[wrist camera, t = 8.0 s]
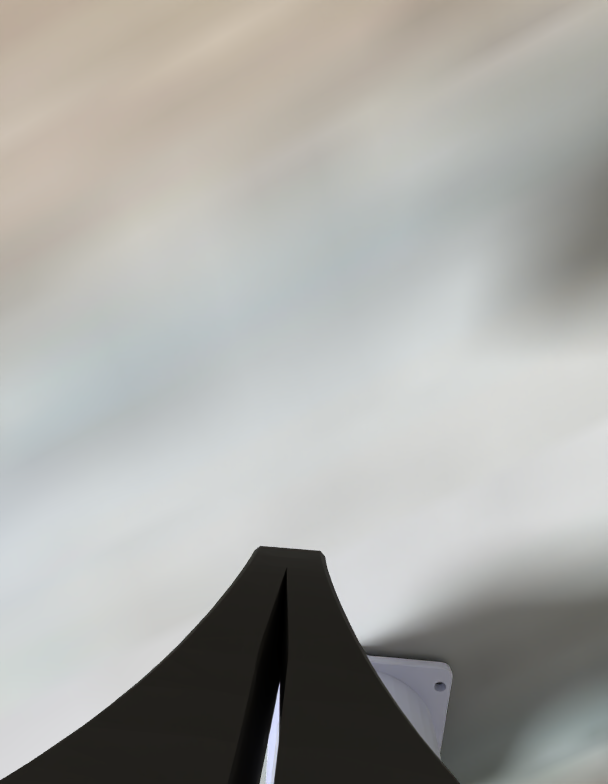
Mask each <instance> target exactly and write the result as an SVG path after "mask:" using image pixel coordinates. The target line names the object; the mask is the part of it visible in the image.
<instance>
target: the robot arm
mask: <svg viewBox="0 0 608 784" xmlns="http://www.w3.org/2000/svg"><path fill="white" fill-rule="evenodd" d="M452 679H453V675H452V671H451V668H450V667H449V665H447V664H446V663H443V662H435V661H424V660H413V659H401V658H390V657H379V656H368V655H366V653H365V652H364V650H363V648H362V646H361V645H360V643H359V641H358V639H357V637H356V635H355V633H354V631H353V629H352V627H351V625H350V623H349V621H348V619H347V617H346V614H345V612H344V610H343V608H342V606H341V604H340V601H339V599H338V597H337V594H336V592H335V589H334V586H333V584H332V581H331V578H330V575H329V572H328V569H327V564H326V560H325V556H324V555H323V554H322V553H321V551H314V550H302V549H290V548H278V547H265V546H260V547H259V548H257V549H256V550H255V551H254V552H253V554H252V556H251V557H250V559H249V561H248V562H247V564H246V565H245V567H244V568H243V570H242V571H241V572H240V574H239V575H238V576H237V578H236V579H235V580H234V582H233V583H232V585H231V586H230V587H229V588H228V590H227V591H226V592H225V593H224V594H223V596H222V597H221V598H220V599H219V601H218V602H217V603H216V604H215V606H214V607H213V608H212V609H211V610H210V612H209V613H208V614H207V615H206V616H205V617H204V618H203V619H202V620H201V621H200V622H199V624H198V625H197V626H196V627H195V628H194V629H193V630H192V631H191V632H190V633H189V634H188V635H187V637H186V638H185V639H184V640H183V641H182V642H181V643H180V644H179V645H178V646H177V647H176V648H175V649H174V650H173V651H172V652H171V653H170V654H169V655H168V656H167V657H166V658H164V659H163V660H162V661H161V662H160V663H159V664H158V665H157V666H156V667H155V668H154V669H152V670H151V671H150V672H149V673H148V674H147V675H146V676H145V677H144V678H142V679H141V680H140V681H139V682H138V683H137V684H135V685H134V686H133V687H132V688H130V689H129V690H128V691H127V692H126V693H124V694H123V695H122V696H121V697H119V698H118V699H117V700H116V701H115V702H113V703H112V704H111V705H110V706H108V707H107V708H106V709H105V710H103V711H102V712H101V713H99V714H98V715H97V716H95V717H94V718H93V719H91V720H90V721H89V722H87V723H86V724H85V725H83V726H82V727H80V728H79V729H78V730H76V731H75V732H73V733H72V734H70V735H69V736H67V737H66V738H64V739H63V740H61V741H60V742H59V743H57V744H56V745H54V746H53V747H51V748H50V749H48V750H47V751H45V752H44V753H43V754H41V755H40V756H38V757H37V758H35V759H34V760H32V761H31V762H29V763H27V764H26V765H24V766H23V767H21V768H19V769H18V770H16V771H15V772H13V773H11V774H10V775H8V776H7V777H5V778H3V779H2V780H0V784H259V783H260V778H261V773H262V768H263V763H264V758H265V753H266V748H267V744H268V753H267V771H266V784H460V783H459V782H458V781H457V779H456V778H455V777H454V776H453V775H452V773H451V772H450V771H449V770H448V769H447V767H446V766H445V765H444V764H443V763H442V761H441V756H440V751H441V745H442V739H443V733H444V727H445V721H446V715H447V709H448V703H449V697H450V691H451V685H452ZM437 682H443V683H442V684H436V683H437Z"/></svg>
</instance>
